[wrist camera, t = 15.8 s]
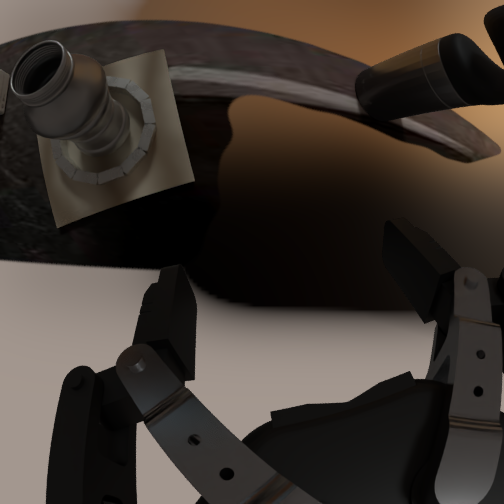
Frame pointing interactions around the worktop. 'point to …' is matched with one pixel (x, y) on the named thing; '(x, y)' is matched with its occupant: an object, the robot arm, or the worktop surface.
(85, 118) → the plastic bottle
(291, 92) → the worktop surface
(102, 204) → the birch board
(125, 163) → the steel collar
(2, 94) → the skincare box
